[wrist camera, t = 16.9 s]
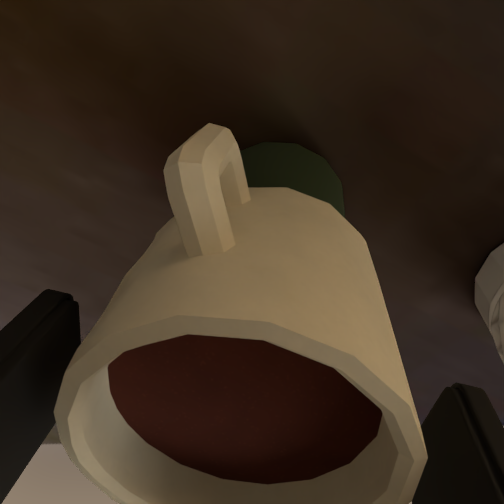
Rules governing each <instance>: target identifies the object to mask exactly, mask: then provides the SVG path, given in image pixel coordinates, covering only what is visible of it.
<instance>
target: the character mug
mask: <svg viewBox="0 0 504 504" xmlns="http://www.w3.org/2000/svg"><path fill="white" fill-rule="evenodd" d="M163 171H164V178H165V184H166V189H167V194H168V199H169V202H170V205H171V208H172V211H173V214H174V217H173V218H172V219H170V220H169V221H168V222H167V223H166V224H165V225H164V226H163V227H162V228H161V229H160V230H159V231H158V232H157V233H156V236H155V239H154V241H153V242H152V243H151V245H150V246H149V247H148V249H147V250H146V252H145V253H144V254H143V255H142V257H141V258H140V259H139V260H138V261H137V262H136V263H135V264H134V266H133V267H132V268H131V269H130V270H129V271H128V272H127V274H126V275H125V276H124V278H123V280H122V281H121V283H120V285H119V287H118V288H117V290H116V292H115V294H114V295H113V297H112V299H111V301H110V302H109V304H108V306H107V308H106V309H105V311H104V313H103V314H102V316H101V317H100V319H99V320H98V322H97V323H96V324H95V326H94V327H93V328H92V330H91V331H90V332H89V334H88V335H87V336H86V338H85V339H84V340H83V342H82V343H81V344H80V346H79V347H78V348H77V350H76V352H75V354H74V356H73V358H72V360H71V361H70V363H69V365H68V367H67V369H66V371H65V373H64V377H63V380H62V384H61V387H60V391H59V394H58V398H57V401H56V405H55V408H54V416H55V420H56V424H57V429H58V433H59V437H60V441H61V443H62V445H63V447H64V448H65V450H66V452H67V454H68V456H69V458H70V460H71V461H72V462H73V463H74V464H75V465H76V467H77V468H78V469H79V470H80V471H81V472H82V473H83V475H84V476H85V477H86V478H87V479H88V480H90V481H91V482H92V483H93V484H94V485H96V486H97V487H98V488H99V489H100V490H102V491H103V492H104V493H105V494H106V495H107V496H109V497H110V498H111V499H112V500H114V501H116V502H118V503H119V504H409V503H410V502H411V501H412V499H413V496H414V494H415V491H416V488H417V486H418V483H419V480H420V478H421V475H422V472H423V470H424V467H425V464H426V462H427V459H428V456H427V451H426V447H425V443H424V438H423V434H422V430H421V426H420V423H419V419H418V416H417V413H416V409H415V406H414V402H413V399H412V395H411V392H410V388H409V385H408V381H407V378H406V374H405V371H404V367H403V364H402V361H401V357H400V354H399V350H398V347H397V343H396V340H395V336H394V333H393V329H392V326H391V322H390V319H389V316H388V312H387V309H386V305H385V302H384V298H383V295H382V291H381V288H380V284H379V281H378V278H377V275H376V272H375V268H374V265H373V262H372V259H371V256H370V253H369V250H368V247H367V243H366V241H365V240H364V238H363V237H362V235H361V234H360V233H359V232H358V231H357V230H356V229H355V228H354V227H353V226H352V225H351V224H350V223H349V222H348V221H347V220H346V219H345V209H344V200H343V190H342V183H341V181H340V180H339V178H338V177H337V175H336V174H335V173H334V171H333V170H332V168H331V167H330V165H329V164H328V162H327V161H326V160H325V158H323V157H321V156H319V155H317V154H315V153H313V152H312V151H310V150H308V149H306V148H304V147H302V146H300V145H298V144H296V143H276V142H262V143H259V144H257V145H254V146H252V147H249V148H247V149H244V150H241V151H240V150H239V147H238V144H237V142H236V140H235V138H234V136H233V134H232V132H231V131H230V129H228V128H226V127H222V126H219V125H215V124H211V123H208V124H207V125H206V126H204V127H203V128H202V129H200V130H199V131H197V132H196V133H195V134H194V135H192V136H191V137H190V138H189V139H188V140H187V141H186V142H184V143H183V144H182V145H181V146H180V147H179V148H178V149H176V150H175V151H174V152H173V153H172V154H171V155H170V156H168V159H167V162H166V165H165V167H164V170H163Z"/></svg>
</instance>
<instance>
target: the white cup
mask: <svg viewBox="0 0 504 504" xmlns="http://www.w3.org/2000/svg"><path fill="white" fill-rule="evenodd" d="M475 305H476V307H477V309H478V310H479V312H480V314H481V316H482V318H483V319H484V321H485V323H486V325H487V327H488V328H489V330H490V332H491V334H492V336H493V338H494V342H495V345H496V348H497V351H498V353H499V355H500V357H501V359H502V362H503V364H504V243H503V244H501V245H500V246H499V247H497V248H496V249H495V250H493V251H492V252H491V253H490V254H489V256H488V257H487V259H486V261H485V262H484V264H483V266H482V267H481V269H480V271H479V272H478V274H477V276H476V277H475Z"/></svg>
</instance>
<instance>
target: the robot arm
mask: <svg viewBox="0 0 504 504" xmlns="http://www.w3.org/2000/svg"><path fill="white" fill-rule="evenodd" d="M80 344H81V339H80V320H79V305H78V302H76V301H73V297H72V295H71V294H68V293H63V292H59V291H55V290H50V289H47V290H45V291H43V292H42V293H41V294H40V295H39V296H38V297H36V298H35V299H34V300H33V301H32V302H31V303H30V304H29V305H28V306H27V307H26V308H25V309H23V310H22V311H21V312H20V313H19V314H18V315H17V316H16V317H15V318H14V319H13V320H12V321H11V322H9V323H8V324H7V325H6V326H5V327H4V328H3V329H2V330H1V331H0V504H1V503H2V502H3V500H4V499H5V497H6V496H7V494H8V493H9V491H10V490H11V488H12V487H13V486H14V484H15V482H16V481H17V480H18V478H19V477H20V475H21V474H22V472H23V471H24V469H25V468H26V466H27V465H28V463H29V462H30V460H31V458H32V457H33V456H34V454H35V453H36V451H37V450H38V448H39V447H40V445H41V444H42V442H43V441H44V439H45V438H46V436H47V435H48V433H49V432H50V430H51V429H52V427H53V426H54V424H55V423H56V420H55V416H54V408H55V405H56V401H57V398H58V394H59V391H60V387H61V384H62V380H63V377H64V373H65V371H66V369H67V367H68V365H69V363H70V361H71V360H72V358H73V356H74V354H75V352H76V350H77V348H78V347H79V346H80ZM421 430H422V434H423V438H424V443H425V447H426V451H427V456H428V459H427V462H426V464H425V467H424V470H423V472H422V475H421V478H420V480H419V483H418V486H417V488H416V491H415V494H414V496H413V499H412V504H504V428H503V426H502V424H501V422H500V420H499V418H498V416H497V414H496V412H495V410H494V408H493V406H492V404H491V402H490V400H489V398H488V396H487V395H486V393H485V392H484V390H482V389H481V388H477V387H473V386H468V385H464V384H460V383H455V384H453V385H452V386H451V387H446V388H445V389H444V390H443V392H442V393H441V395H440V396H439V398H438V400H437V401H436V403H435V404H434V406H433V408H432V409H431V411H430V412H429V414H428V416H427V417H426V419H425V420H424V422H423V424H422V425H421Z"/></svg>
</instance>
